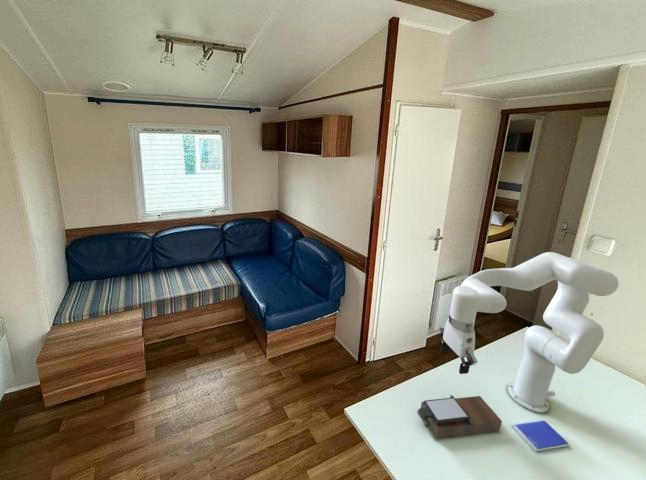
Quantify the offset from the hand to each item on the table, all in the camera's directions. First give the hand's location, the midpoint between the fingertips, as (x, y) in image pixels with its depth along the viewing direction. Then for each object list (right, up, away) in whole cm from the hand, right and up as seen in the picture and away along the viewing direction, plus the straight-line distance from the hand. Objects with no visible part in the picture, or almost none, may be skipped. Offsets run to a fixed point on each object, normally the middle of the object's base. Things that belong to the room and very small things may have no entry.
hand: (453, 362), depth 104 cm
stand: (+2, -23, +1) cm, 23 cm away
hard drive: (+28, -25, -3) cm, 37 cm away
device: (-5, -16, -1) cm, 17 cm away
